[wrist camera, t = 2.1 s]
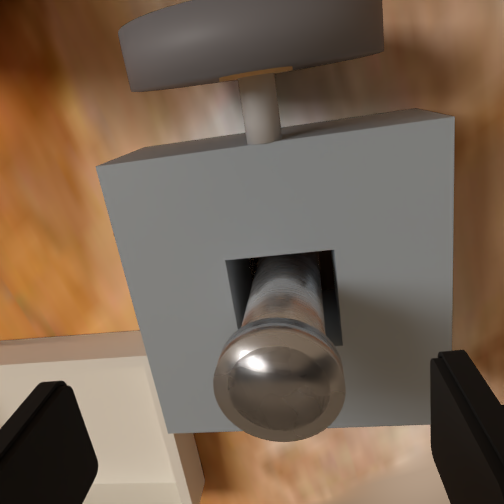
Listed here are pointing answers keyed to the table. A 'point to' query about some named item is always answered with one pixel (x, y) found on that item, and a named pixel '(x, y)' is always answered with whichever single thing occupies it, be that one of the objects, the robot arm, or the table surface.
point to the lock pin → (282, 356)
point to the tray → (109, 414)
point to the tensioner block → (283, 209)
